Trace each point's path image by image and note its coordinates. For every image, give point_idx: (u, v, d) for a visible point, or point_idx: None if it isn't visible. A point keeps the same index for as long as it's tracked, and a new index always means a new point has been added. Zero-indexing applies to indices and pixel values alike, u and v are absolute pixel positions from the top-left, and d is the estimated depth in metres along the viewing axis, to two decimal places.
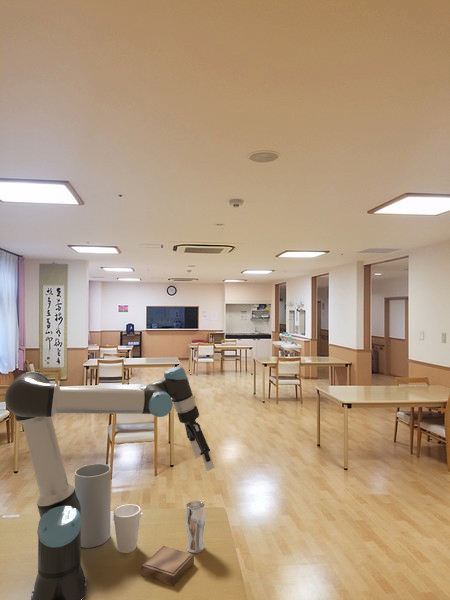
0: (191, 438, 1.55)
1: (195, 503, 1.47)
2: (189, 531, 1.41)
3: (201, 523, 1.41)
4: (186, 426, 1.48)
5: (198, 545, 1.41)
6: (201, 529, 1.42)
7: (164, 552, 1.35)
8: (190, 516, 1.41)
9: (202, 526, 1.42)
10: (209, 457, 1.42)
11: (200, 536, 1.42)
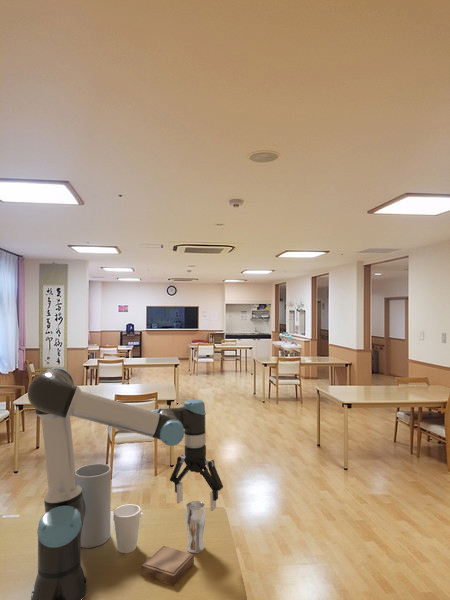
0: (179, 480, 1.46)
1: (195, 503, 1.47)
2: (189, 531, 1.41)
3: (201, 523, 1.41)
4: (191, 464, 1.43)
5: (198, 545, 1.41)
6: (201, 529, 1.42)
7: (164, 552, 1.35)
8: (190, 516, 1.41)
9: (202, 526, 1.42)
10: None
11: (200, 536, 1.42)
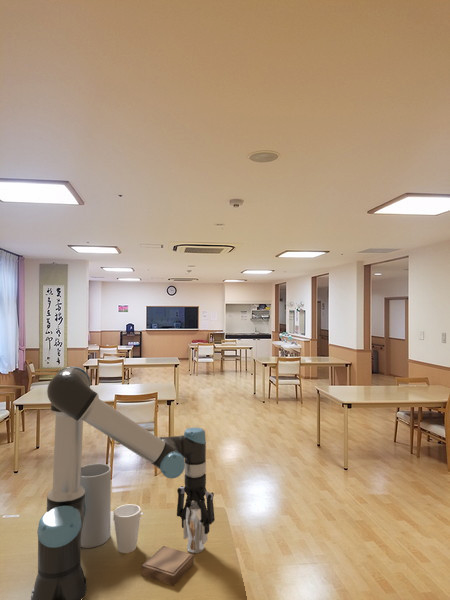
0: (185, 514, 1.45)
1: (196, 503, 1.47)
2: (189, 531, 1.41)
3: (201, 523, 1.41)
4: (190, 492, 1.43)
5: (198, 545, 1.41)
6: (201, 529, 1.42)
7: (164, 552, 1.35)
8: (190, 516, 1.41)
9: None
10: None
11: (200, 536, 1.42)
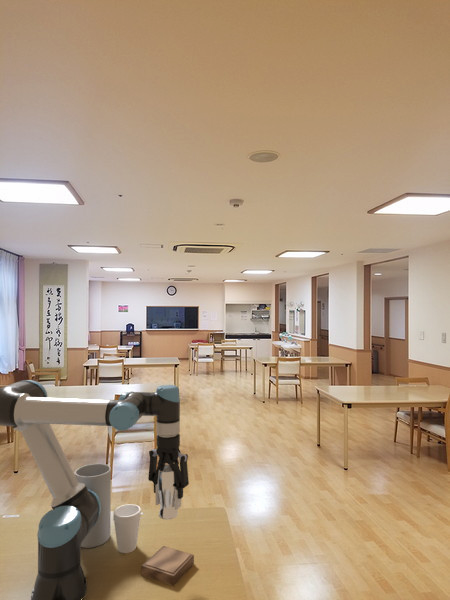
0: None
1: (169, 467, 1.36)
2: (161, 495, 1.30)
3: (174, 487, 1.30)
4: (162, 454, 1.31)
5: (171, 511, 1.30)
6: (174, 493, 1.30)
7: (164, 552, 1.35)
8: (162, 479, 1.30)
9: None
10: None
11: (173, 501, 1.30)
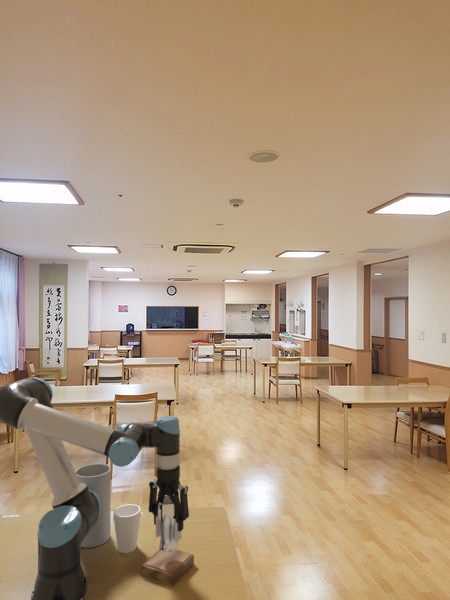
0: None
1: (169, 498, 1.35)
2: (161, 528, 1.30)
3: (174, 519, 1.30)
4: (162, 486, 1.31)
5: (171, 543, 1.30)
6: (174, 526, 1.30)
7: (164, 552, 1.35)
8: (162, 511, 1.29)
9: None
10: None
11: (173, 533, 1.30)
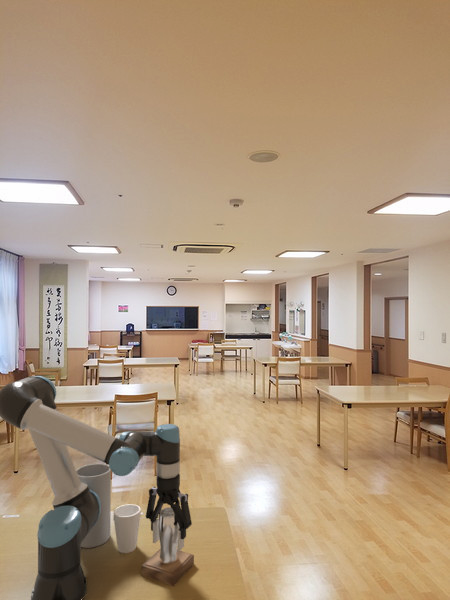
0: (155, 516, 1.34)
1: (170, 509, 1.35)
2: (162, 540, 1.30)
3: (175, 532, 1.30)
4: (162, 495, 1.31)
5: (171, 556, 1.30)
6: (175, 538, 1.30)
7: None
8: (163, 523, 1.29)
9: (176, 535, 1.30)
10: None
11: (174, 546, 1.30)
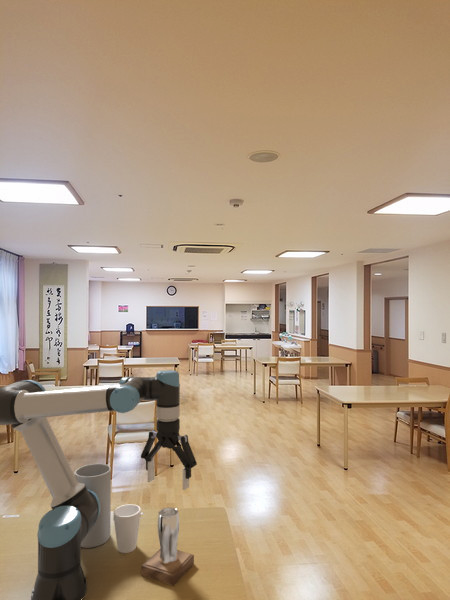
0: (151, 457, 1.35)
1: (169, 510, 1.35)
2: (161, 541, 1.30)
3: (174, 532, 1.30)
4: (162, 439, 1.32)
5: (171, 556, 1.30)
6: (174, 538, 1.30)
7: None
8: (162, 524, 1.29)
9: (176, 536, 1.30)
10: None
11: (173, 546, 1.30)
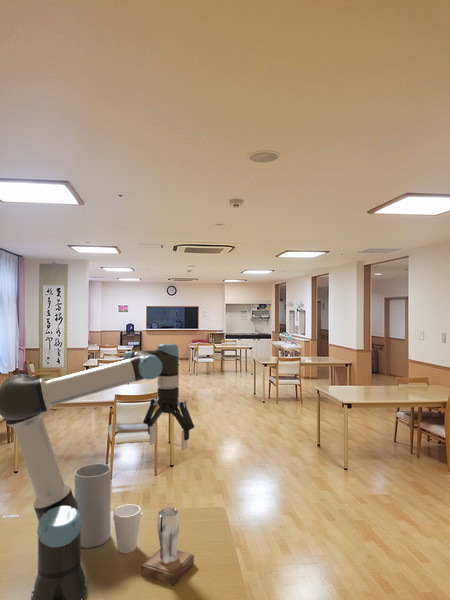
0: (152, 422, 1.49)
1: (169, 510, 1.35)
2: (161, 541, 1.30)
3: (174, 532, 1.30)
4: (163, 405, 1.46)
5: (171, 556, 1.30)
6: (174, 538, 1.30)
7: None
8: (162, 524, 1.29)
9: (176, 536, 1.30)
10: None
11: (173, 546, 1.30)
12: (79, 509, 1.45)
